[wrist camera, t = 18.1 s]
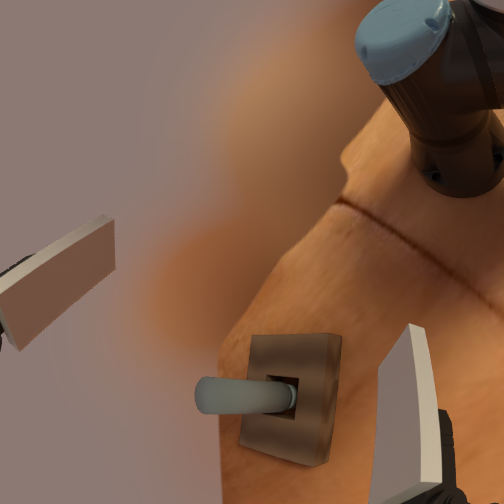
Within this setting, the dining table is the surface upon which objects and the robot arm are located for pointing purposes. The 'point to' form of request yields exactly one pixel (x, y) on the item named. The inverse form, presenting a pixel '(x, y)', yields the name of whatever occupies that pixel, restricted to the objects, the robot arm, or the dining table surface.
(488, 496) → the dining table surface
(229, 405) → the grey rounded cylinder
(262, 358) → the board
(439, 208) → the dining table surface
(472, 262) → the dining table surface
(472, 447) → the dining table surface
